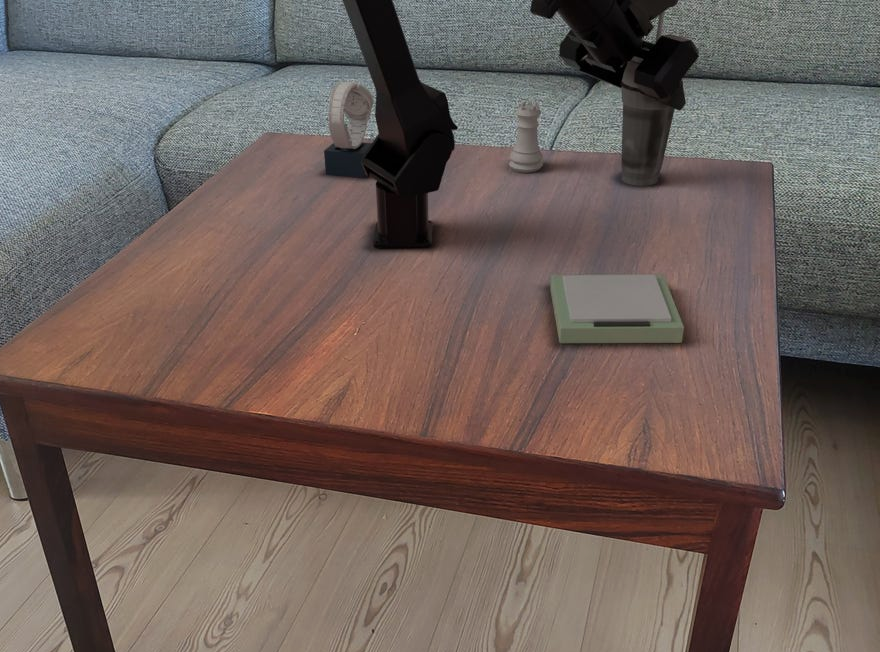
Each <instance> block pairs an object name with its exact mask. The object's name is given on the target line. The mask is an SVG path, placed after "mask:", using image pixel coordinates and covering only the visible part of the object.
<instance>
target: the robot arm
mask: <svg viewBox="0 0 880 652" xmlns="http://www.w3.org/2000/svg"><path fill="white" fill-rule="evenodd" d="M341 1H342V3H343V5H344V9H345V11H346V14H347V17H348V19H349V22H350V24H351V27H352V30H353V32H354V35H355V38H356V41H357V43H358V46H359V48H360V51H361V54H362V57H363V59H364V62H365V64H366V67H367V70H368V73H369V75H370V78H371V81H372V84H373V86H374V90H375V110H374V117H375V122H376V127H377V133H378V134H377V135H376V136H375V138H374V139H373V141H372V142H371V143H372V144H371V145H370V146H369V148H368V149H367V151H366V152H365V153H364V155H363V156H362V158H361V160H360V161H361V164H362V166H363V169H364V171H365V173H366V175H367V177H369V178H371V179H373V180H374V181H376V182H375V197H376V198H375V199H376V216H377V221H376V222H375V227H374V228H375V229H374V233H373V234H374V235H373V238H372V247H373V248H429V247H432V245H433V226H434V224H433V223H434V222H433V221H432V220H430V219H429V193H434V192H437V191H439V189H440V186H441V183H442V180H443V176H444V173H445V169H446V167H447V163H448V161H449V160H450V158H451V156H452V152H453V151H454V150H455V147H456V140H455V134H454V132H453V131H457V130H458V129H459V127H458V126H457V124H456V123H455V122H454V121H453V119H452V117H451V113H450V105H449V101H448V98H447V95H446V92H444V91H441V90H439V89H437V88H435V87H432V86H431V85H428V84H426V83H424V82H422V81H421V80H420V77H419V74H418V71H417V69H416V66H415V62H414V60H413V57H412V54H411V51H410V48H409V45H408V42H407V39H406V35H405V33H404V30H403V28H402V27H403V26H402V24H401V22H400V18H399V16H398V12H397V10H396V5H395V3H394V1H393V0H341ZM678 2H679V0H531V2H530V8H529V12H530V14H531V15H534V16H537V17H540V18H544V19H548V20H552V19H553V18H554V17H555V15H556V14H558V15H559V17H561V19H562V20H563V22H564V23H565V24H566V25H567V27H568V28H569V29H570V30H569V31H568V32H567V33H566V36H565V37H564V38H563V39H562V40H561V42H560V43H559V53H558V55H559V57H560V59H561V60H562V61H563V62H564V63H565V65H566V66H568V67H571V68H573V69H576V70H577V71H578V72H581V73H583V74H585V75H588V76H590V77H592V78H595V79H597V80H599V81H602V82H604V83H606V84H610V85H611V86H613V87H617V88H619V89H622V86H621V85H620V84H621V81H622V79H623V74H624V71H625V68H626V66H627V64H628V62H629V61H630V62H633V63H636V64H639V65H638V67H637V68H636V69H635V75H634V83H635V85H636V86H637V87H638V88H639V89H640V90H641V92H640V93H641V94H643V95H645V96H647V97H649V98H652V99H654V100H656V101H658V102H661V103H663V104H665V105H667V106H670V107H672V108H674V109H675V110H677V111H679V112H680V111H682V110H683V109H684V107H685V106H686V104H687V100H686V96H685V94H686V93H685V90H684V89H685V88H684V82H683V83H682V81H683V78H684V77H685V76H686V74H687V73H688V72H689V70H690V69H691V68H692V66H693V65H694V64H695V62H696V61H697V60H698V59H699V58H700V51H699V49H698V48H697V46H696V45H695V43H694V41H693V40H692V39H690V38H686V37H682V36H679V35H676V34H672V33H670V34H663V35H662V34H661V37H660V38H659V39H658V41H657V42H656V41H655V43H653V42H650V41H646V40H644V39H643V38H644V37H648V36H649V35H650V33H651V32H652V30H653V29H654V28H655V26H654V25H653V23H652V22H651V21H653V20H654V19H656V18H657V17H659V15H660V14H661V13H663V12H664V11H667V10H668V9H669V8H673V7H675V6H677V4H678ZM664 13H665V12H664Z"/></svg>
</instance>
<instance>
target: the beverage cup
mask: <svg viewBox="0 0 880 652" xmlns="http://www.w3.org/2000/svg"><path fill="white" fill-rule="evenodd" d="M665 11H666V10H665ZM665 11H664V12H663V13H661V14H660V15H659V16H658V23H657V30H656V37H655V43H656V42H657V41H658V39H659V38H660V37H661V36H662V33H663V25H664V19H665V13H666V12H665ZM638 65H639V64H636V63H633V62H630V61H629V62H628V64H627V66H626V68H625V71H624V74H623V79H622V81H621V84H620V85H621V86H622V89H621V88H620V89H621V90H620V91H621V93H620V94H621V102H622V122H621V123H622V126H621V128H622V129H621V161H620V163H621V164H620V167H621V181H622V182H623V183H624V184H628V185H630V186H634V187H648V186H653V185H655V184H657V183H658V182H659V176H660V174H661V170H662V168H663V163H664V160H665V159H664V158H665V154H666V150H667V145H668V141H669V137H670V133H671V128H672V123H673V119H674V114H675V110H676V109H674V108H672V107H670V106H667V105H665V104H663V103H661V102H658V101H656V100H654V99H652V98H649V97H647V96H645V95H643V94H641V93H640V92H641V90H640V89H639V88H638V87H637V86H636V85H635V83H634V75H635V69H636V68H637V67H638ZM682 83H683V84H684V81H683V80H682Z"/></svg>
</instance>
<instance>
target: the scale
mask: <svg viewBox="0 0 880 652" xmlns="http://www.w3.org/2000/svg"><path fill="white" fill-rule="evenodd" d="M549 288H550V295H551V300H552V301H551V302H552V307H553V313H554V318H555V324H556V331H557V337H558V343H559V344H674V343H675V344H682V342H683V338H684V331H685V326H684V323H683V321H682V319H681V316H680V313H679V311H678V307H677V306H676V303H675V300H674V298H673V296H672V293H671V291H670V287H669V285H668V283H667V280H666V279H665V276H664V274H663V273H638V274H637V273H635V274H634V273H631V274H629V273H628V274H627V273H626V274H623V273H622V274H621V273H619V274H618V273H617V274H615V273H614V274H551V275H550V287H549Z"/></svg>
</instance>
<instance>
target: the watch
mask: <svg viewBox="0 0 880 652" xmlns="http://www.w3.org/2000/svg"><path fill="white" fill-rule="evenodd" d="M374 100H375V99H374V96H373V94H372V92H371V91H370V90H369V88H367V87H366V86H365V85H363V84H361V83H359V82H355V81H345V82H344V81H343V82H337V83H336V84H335V85H334V86H333V88H332V90H331V93H330V97H329V102H328V113H327V114H328V123H327V125H328V126H327V127H328V130H329V135H330V137H331V140H332V144H330V145H329V146H328V147H326V148H325V149H324V150H323V155H324V168H325V175H328V176H338V177H349V178H357V179H358V178H359V179H366V178H367V177H368V176H367V175H366V173H365V171H364V169H363V166H362V164H361V161H360V160H361V158H362V156H363V155H364V153H365V152H366V151H367V149H368V148H369V146H370V145H371V144H372V142H363V141H364V139H365V137H366V136H365V135H366V132H367V127H368V121H370V119H371V114H372V108H373V106H374V102H375V101H374ZM345 118H346V119H347V120H349V127H348V124H347V123H346V122H345Z"/></svg>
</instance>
